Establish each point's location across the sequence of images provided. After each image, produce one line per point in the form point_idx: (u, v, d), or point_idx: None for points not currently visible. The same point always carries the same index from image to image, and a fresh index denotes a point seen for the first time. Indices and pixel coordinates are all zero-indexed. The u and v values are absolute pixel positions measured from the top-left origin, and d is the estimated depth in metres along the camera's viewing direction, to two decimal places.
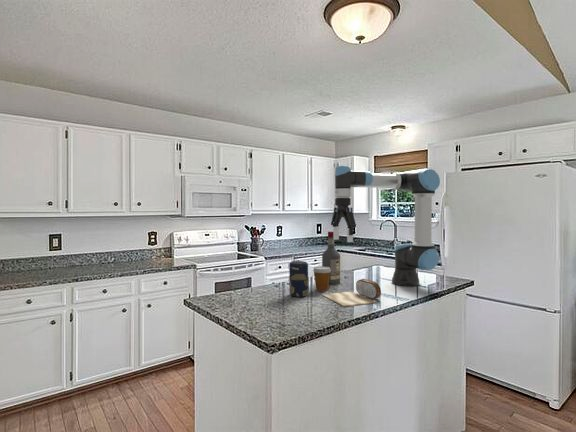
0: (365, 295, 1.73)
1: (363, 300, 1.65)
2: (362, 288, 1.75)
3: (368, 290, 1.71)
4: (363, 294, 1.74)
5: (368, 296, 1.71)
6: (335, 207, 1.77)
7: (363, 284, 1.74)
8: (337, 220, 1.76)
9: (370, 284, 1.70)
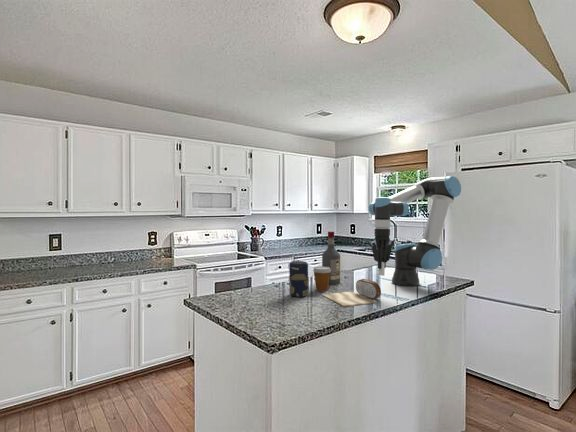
0: (365, 295, 1.73)
1: (363, 300, 1.65)
2: (362, 288, 1.75)
3: (368, 290, 1.71)
4: (363, 294, 1.74)
5: (368, 296, 1.71)
6: None
7: (363, 284, 1.74)
8: (382, 252, 1.76)
9: (370, 284, 1.70)
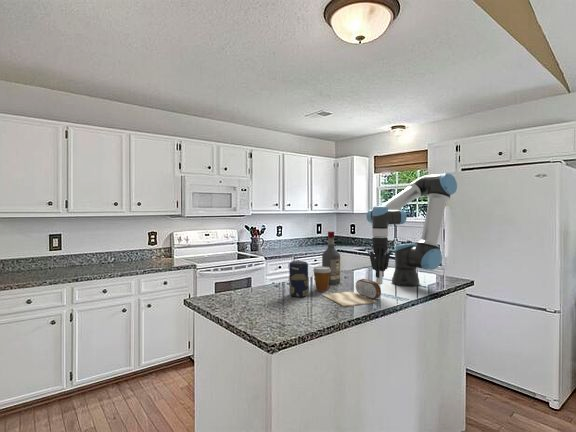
0: (365, 295, 1.73)
1: (363, 300, 1.65)
2: (362, 288, 1.75)
3: (368, 290, 1.71)
4: (363, 294, 1.74)
5: (368, 296, 1.71)
6: (388, 250, 1.78)
7: (363, 284, 1.74)
8: (380, 261, 1.76)
9: (370, 284, 1.70)
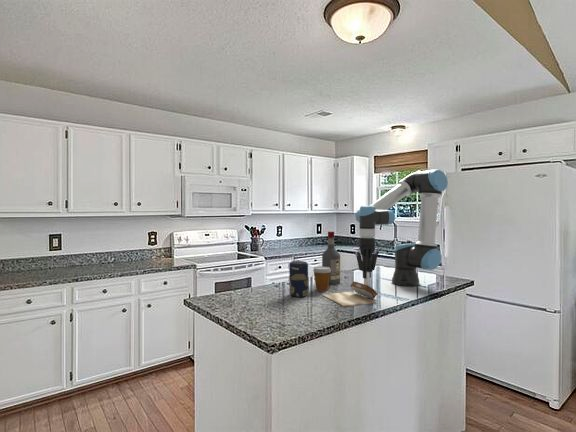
0: (364, 295, 1.73)
1: (363, 300, 1.65)
2: (358, 290, 1.73)
3: (365, 293, 1.70)
4: (362, 294, 1.74)
5: (367, 296, 1.71)
6: None
7: (357, 288, 1.72)
8: (367, 262, 1.73)
9: (363, 289, 1.67)
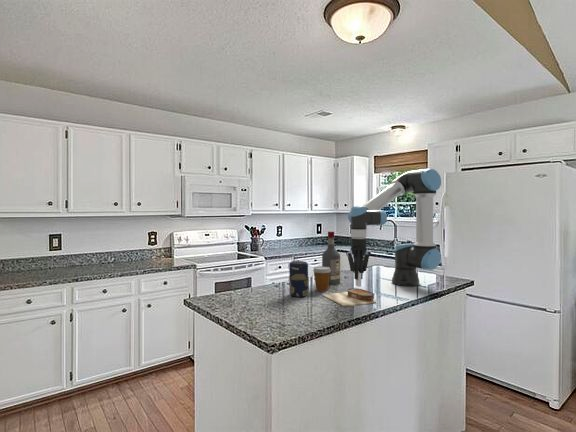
0: None
1: None
2: None
3: None
4: None
5: None
6: (367, 251, 1.73)
7: None
8: (359, 263, 1.71)
9: None
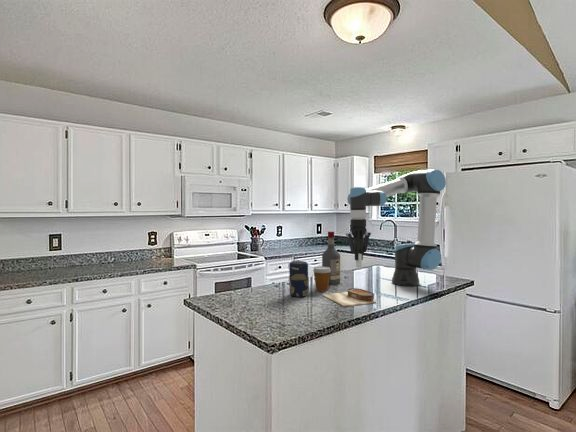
0: None
1: None
2: None
3: None
4: None
5: None
6: (367, 232, 1.73)
7: None
8: (359, 244, 1.71)
9: None
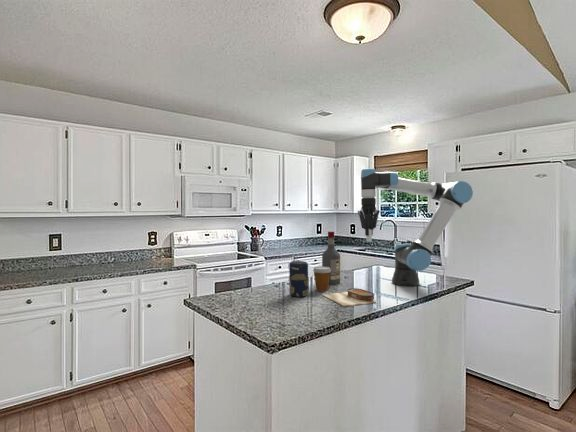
0: None
1: None
2: None
3: None
4: None
5: None
6: (376, 210, 1.90)
7: None
8: (369, 220, 1.88)
9: None
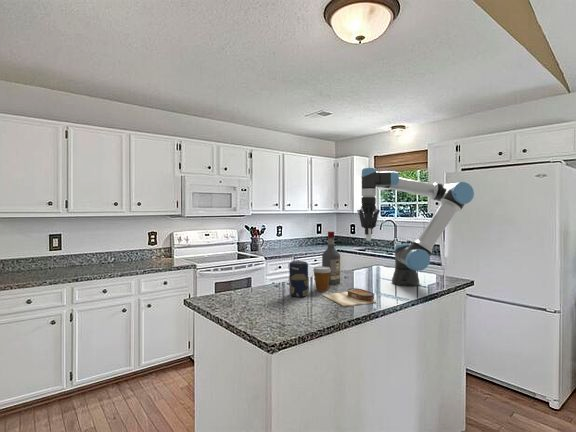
0: None
1: None
2: None
3: None
4: None
5: None
6: None
7: None
8: (369, 219, 1.89)
9: None
